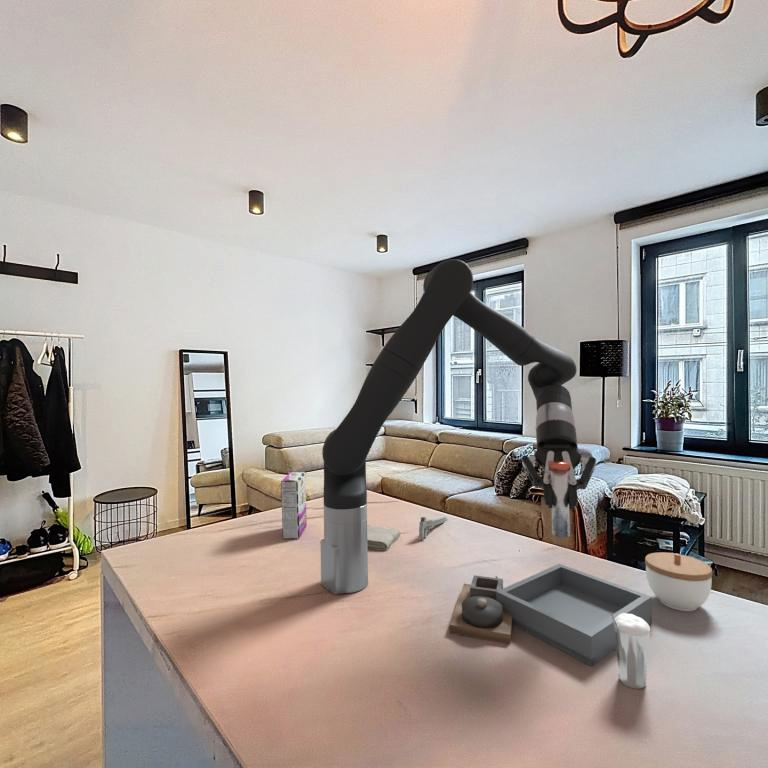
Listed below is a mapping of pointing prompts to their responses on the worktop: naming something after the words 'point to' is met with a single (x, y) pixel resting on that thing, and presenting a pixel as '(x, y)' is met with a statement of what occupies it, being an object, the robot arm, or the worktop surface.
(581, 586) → the tray
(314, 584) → the worktop surface
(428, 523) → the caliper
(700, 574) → the lidded jar
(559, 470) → the pin
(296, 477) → the candy bar box
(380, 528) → the washcloth
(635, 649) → the milkshake
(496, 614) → the wooden stand
